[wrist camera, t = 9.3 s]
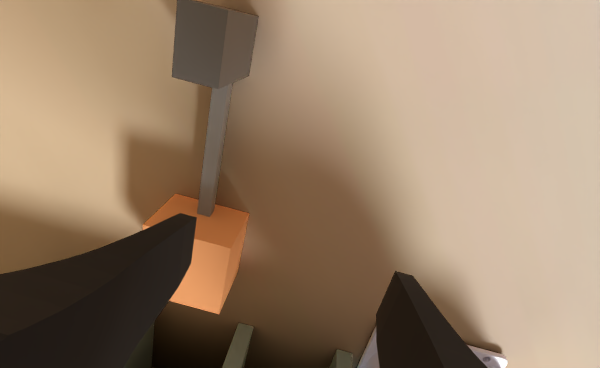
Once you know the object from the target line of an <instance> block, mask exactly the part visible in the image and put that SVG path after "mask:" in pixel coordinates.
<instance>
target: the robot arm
mask: <svg viewBox="0 0 600 368" xmlns="http://www.w3.org/2000/svg"><path fill="white" fill-rule="evenodd" d="M196 220H197V217H193V216H190V215H186V214H182V213H179V214H177V215H174V216H172V217H170V218H168V219H166V220H164V221H162V222H159V223H157V224H155V225H153V226H151V227H149V228H147V229H144V230H142V231H140V232H138V233H136V234H133V235H131V236H129V237H126V238H124V239H121V240H119V241H116V242H114V243H111V244H109V245H106V246H104V247H101V248H99V249H96V250H93V251H90V252H87V253H84V254H81V255H78V256H74V257H71V258H68V259H64V260H61V261H57V262H53V263H49V264H45V265H41V266H37V267H33V268H29V269H24V270H20V271H15V272H10V273H5V274H0V368H124V366H125V364H126V363H127V361H128V359H129V357H130V356H131V354H132V352H133V351H134V349H135V348H136V346H137V345H138V343H139V342H140V340H141V339H142V338H143V336H144V335H145V333H146V332H147V331H148V329H149V328H150V326H151V325H152V324H153V322H154V321H155V319H156V318H157V317H158V315H159V314H160V312H161V311H162V310H163V308H164V307H165V306H166V304H167V303H168V301H169V300H170V298H171V297H172V296H173V294H174V293H175V291H176V290H177V289H178V287H179V285H180V283H181V282H182V280H183V278H184V276H185V274H186V272H187V270H188V268H189V267H190V265H191V260H192V252H193V244H194V236H195V228H196ZM507 363H508V361H507V359H506V357H505V356H504V355H502V354H499V353H495V352H492V351H488V350H484V349H481V348H477V347H473V346H469V345H466V343H465V342H464V341H463V340H462V339H461V338H460V336H459V335H458V334H457V333H456V332H455V330H454V329H453V328H452V327H451V325H450V324H449V323H448V322H447V320H446V319H445V318H444V316H443V315H442V314H441V313H440V311H439V310H438V309H437V307H436V306H435V305H434V303H433V302H432V301H431V299H430V298H429V297H428V295H427V294H426V293H425V291H424V290H423V289H422V287H421V286H420V285H419V283H418V282H417V281H416V279H415V278H414V277H413V276H412V275H408V274H404V273H400V272H397V271H395V273H394V275H393V278H392V280H391V282H390V284H389V287H388V289H387V291H386V293H385V296H384V298H383V300H382V303H381V305H380V307H379V309H378V312H377V314H376V327H375V329H374V331H373V333H372V336H371V338H370V340H369V342H368V344H367V347H366V349H365V351H364V353H363V355H362V358H361V360H360V362H359V364H358V366H357V368H505V366H506V365H507Z"/></svg>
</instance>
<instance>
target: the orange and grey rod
mask: <svg viewBox="0 0 600 368" xmlns="http://www.w3.org/2000/svg"><path fill="white" fill-rule="evenodd" d="M258 17H259V16H256V15H252V14H248V13H244V12H240V11H237V10H233V9H229V8H225V7H221V6H217V5H212V4H207V3H203V2H198V1H193V0H177V11H176V26H175V40H174V54H173V68H172V77H174V78H177V79H181V80H185V81H189V82H192V83H196V84H200V85H204V86H208V87H211V88H212V94H211V102H210V110H209V119H208V127H207V135H206V143H205V152H204V160H203V168H202V176H201V184H200V193H199V200H198V199H194V198H190V197H187V196H183V195H179V194H175V195H174V196H173V197H171V198H170V199H169V200H168V201H167V202H166V203H165V204H164V205H163V206H162V207H161V208H160V209H159V210H158V211H157V212H156V213H155V214H154V215H153V216H152V217H150V218H149V219H148V220H147V221H146V222H145V223H144V224H143V230H144V229H147V228H149V227H151V226H153V225H155V224H157V223H159V222H162V221H164V220H166V219H168V218H170V217H172V216H174V215H177V214H179V213H182V214H186V215H190V216H193V217H197V220H196V228H195V236H194V244H193V252H192V260H191V265H190V267H189V268H188V270H187V272H186V274H185V276H184V278H183V280H182V282H181V283H180V285H179V287H178V289H177V290H176V291H175V293H174V294H173V296H172V297H171V298H170V300H169V301H172V302H176V303H179V304H183V305H187V306H190V307H194V308H198V309H201V310H205V311H209V312H212V313H216V314H219V313H220V311H221V309H222V306H223V304H224V302H225V300H226V297H227V295H228V293H229V291H230V288H231V286H232V284H233V282H234V279H235V277H236V275H237V273H238V268H239V263H240V258H241V253H242V248H243V243H244V238H245V233H246V228H247V223H248V218H249V213H246V212H243V211H239V210H235V209H231V208H228V207H224V206H220V205H216V204H215V201H216V194H217V188H218V181H219V174H220V167H221V160H222V153H223V147H224V140H225V133H226V126H227V119H228V112H229V105H230V99H231V92H232V85H233V82H236V81H238V80H240V79H242V78H245V77H247V76H249V72H250V66H251V60H252V54H253V47H254V41H255V35H256V29H257V23H258Z"/></svg>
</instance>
